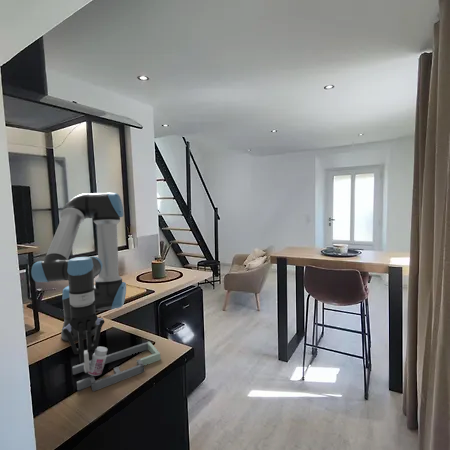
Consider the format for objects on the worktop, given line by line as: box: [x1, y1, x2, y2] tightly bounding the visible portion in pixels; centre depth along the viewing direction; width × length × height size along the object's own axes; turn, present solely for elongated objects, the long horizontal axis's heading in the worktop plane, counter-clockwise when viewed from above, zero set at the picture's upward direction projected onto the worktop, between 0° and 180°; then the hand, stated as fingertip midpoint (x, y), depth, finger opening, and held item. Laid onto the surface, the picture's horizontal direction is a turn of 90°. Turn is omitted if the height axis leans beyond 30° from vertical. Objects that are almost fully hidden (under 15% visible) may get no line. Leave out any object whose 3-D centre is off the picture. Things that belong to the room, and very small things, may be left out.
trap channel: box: [72, 341, 161, 392], centre depth 102 cm, size 15×28×2 cm, turn 125°
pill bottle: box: [87, 346, 108, 377], centre depth 99 cm, size 5×5×8 cm
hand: (86, 370), depth 97 cm, fingers closed
